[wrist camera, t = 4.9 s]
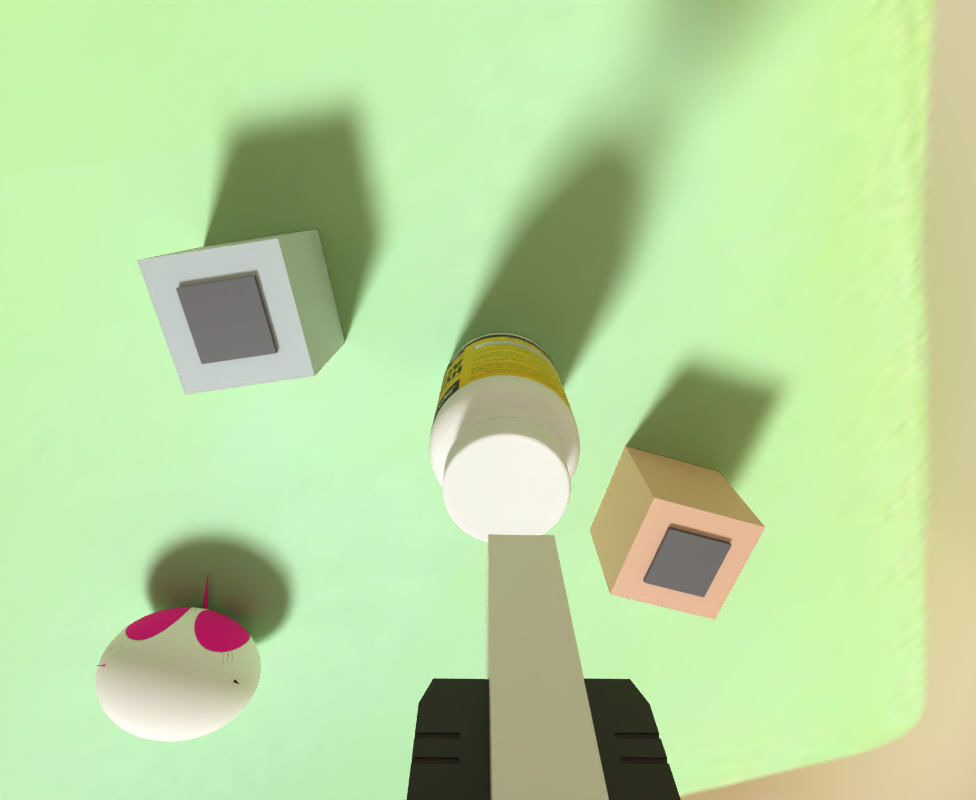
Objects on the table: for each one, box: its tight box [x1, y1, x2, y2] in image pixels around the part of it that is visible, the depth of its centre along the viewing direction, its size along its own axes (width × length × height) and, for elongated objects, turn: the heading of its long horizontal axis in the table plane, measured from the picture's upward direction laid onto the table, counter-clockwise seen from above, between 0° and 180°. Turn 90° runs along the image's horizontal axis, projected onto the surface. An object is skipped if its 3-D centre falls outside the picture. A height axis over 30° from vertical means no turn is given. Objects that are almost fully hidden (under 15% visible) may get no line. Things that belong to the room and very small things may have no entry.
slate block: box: [137, 229, 345, 394], centre depth 23 cm, size 5×5×5 cm
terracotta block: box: [590, 446, 765, 619], centre depth 26 cm, size 5×5×5 cm
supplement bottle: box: [429, 333, 580, 542], centre depth 22 cm, size 5×5×10 cm
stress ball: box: [96, 577, 261, 741], centre depth 29 cm, size 8×8×7 cm
